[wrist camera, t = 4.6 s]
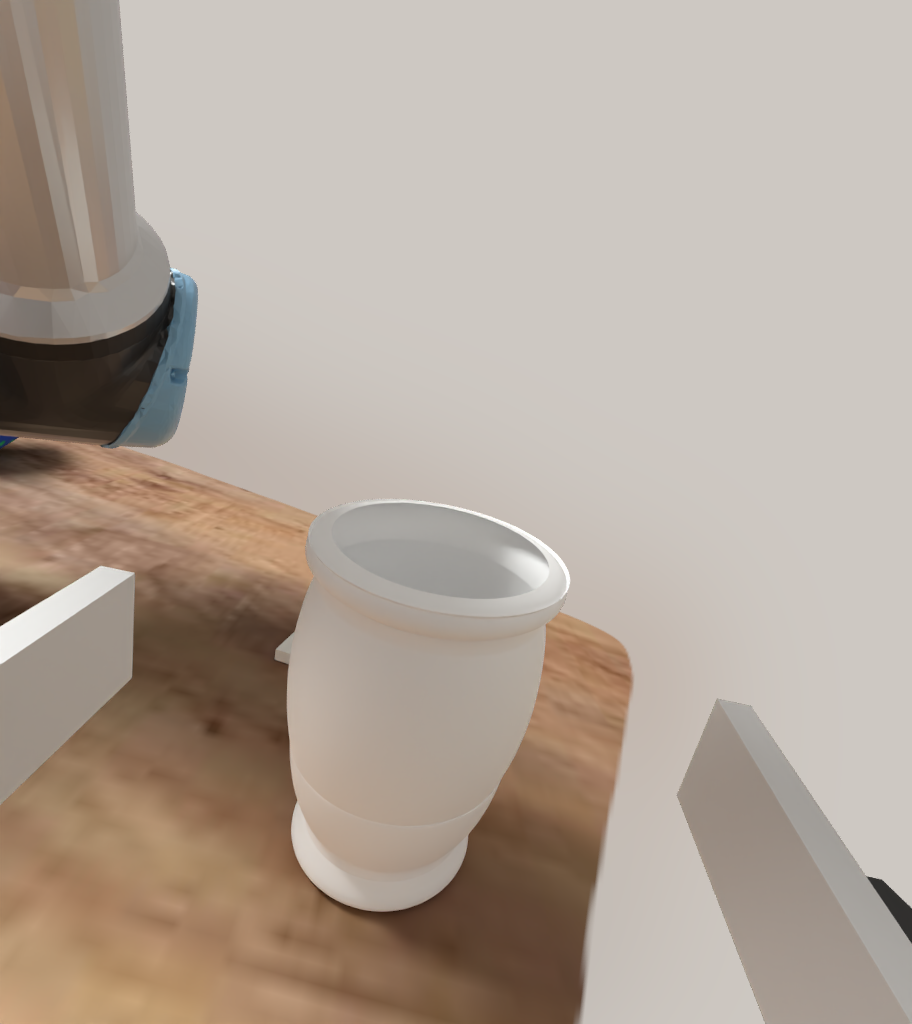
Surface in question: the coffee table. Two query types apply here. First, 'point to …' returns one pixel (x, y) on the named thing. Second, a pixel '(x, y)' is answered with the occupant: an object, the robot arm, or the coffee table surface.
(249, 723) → the coffee table surface
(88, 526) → the coffee table surface
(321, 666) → the jar
